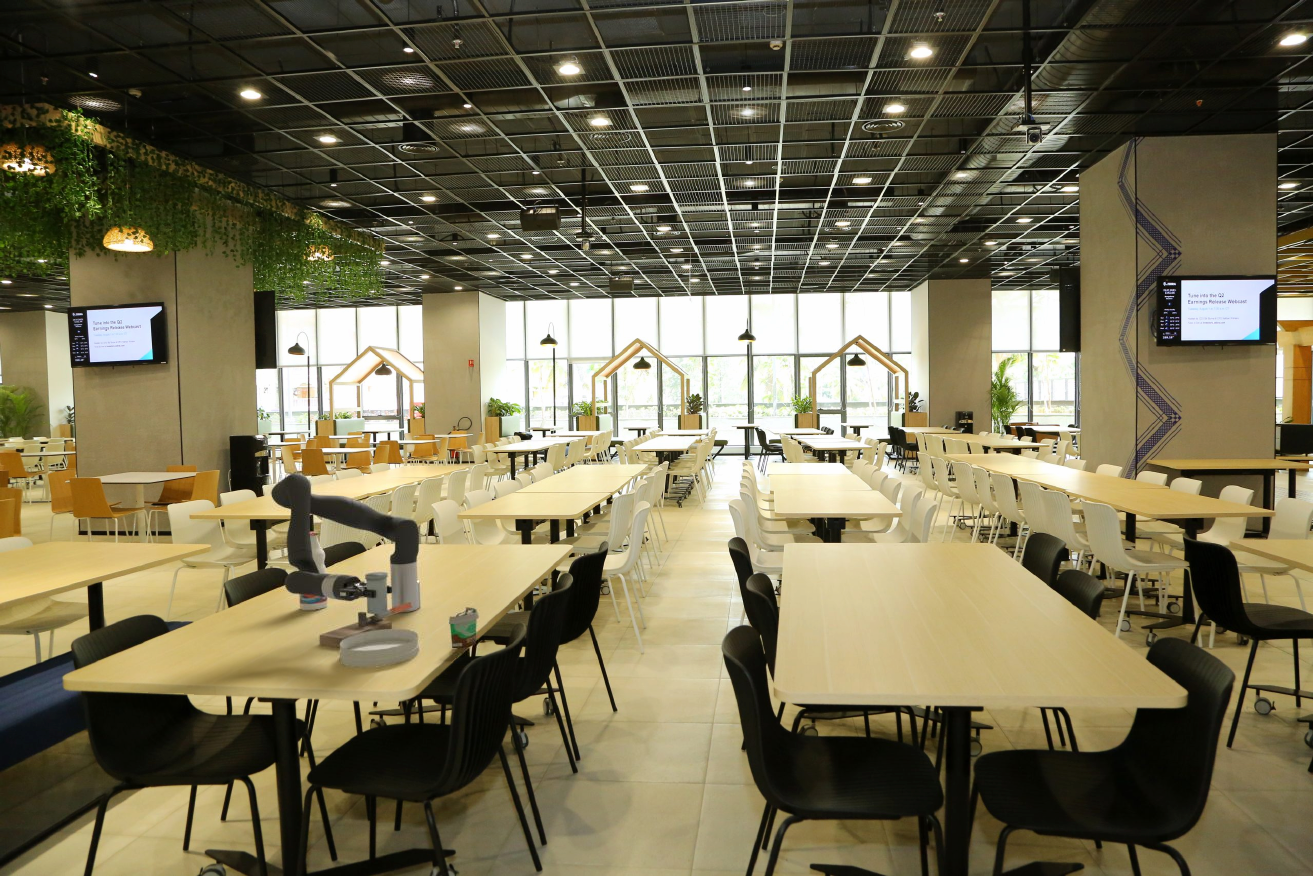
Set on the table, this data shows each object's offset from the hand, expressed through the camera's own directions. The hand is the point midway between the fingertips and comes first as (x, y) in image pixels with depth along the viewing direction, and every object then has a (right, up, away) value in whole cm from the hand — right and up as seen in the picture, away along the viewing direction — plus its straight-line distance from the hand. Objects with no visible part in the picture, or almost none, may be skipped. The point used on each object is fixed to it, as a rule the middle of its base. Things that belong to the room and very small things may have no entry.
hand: (383, 592), depth 232 cm
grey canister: (-2, -6, +1) cm, 7 cm away
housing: (-16, -18, +21) cm, 32 cm away
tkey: (-13, -14, +26) cm, 32 cm away
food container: (+22, -18, +10) cm, 31 cm away
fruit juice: (-47, -18, +62) cm, 80 cm away
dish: (-2, -19, +2) cm, 20 cm away
